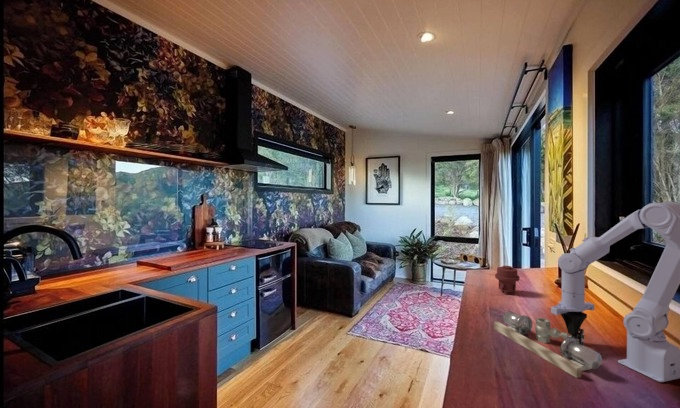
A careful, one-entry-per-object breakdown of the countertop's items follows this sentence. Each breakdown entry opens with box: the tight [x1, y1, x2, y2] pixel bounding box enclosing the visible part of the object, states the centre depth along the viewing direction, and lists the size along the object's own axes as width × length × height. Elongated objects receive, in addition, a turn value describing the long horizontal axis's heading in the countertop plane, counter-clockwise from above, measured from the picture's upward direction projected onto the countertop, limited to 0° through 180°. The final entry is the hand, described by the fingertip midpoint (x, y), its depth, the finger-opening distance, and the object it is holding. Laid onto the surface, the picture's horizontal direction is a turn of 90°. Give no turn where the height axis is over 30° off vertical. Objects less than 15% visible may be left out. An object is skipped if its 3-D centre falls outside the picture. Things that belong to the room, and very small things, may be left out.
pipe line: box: [502, 310, 603, 372], centre depth 92 cm, size 29×6×6 cm, turn 13°
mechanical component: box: [494, 265, 521, 295], centre depth 142 cm, size 12×10×10 cm
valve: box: [534, 317, 585, 346], centre depth 94 cm, size 7×7×12 cm
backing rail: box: [493, 321, 582, 379], centre depth 91 cm, size 29×2×2 cm, turn 13°
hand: (572, 334), depth 95 cm, fingers closed
